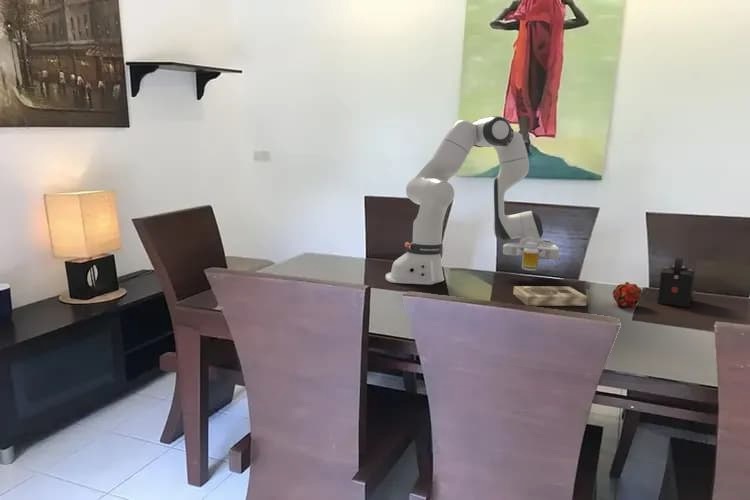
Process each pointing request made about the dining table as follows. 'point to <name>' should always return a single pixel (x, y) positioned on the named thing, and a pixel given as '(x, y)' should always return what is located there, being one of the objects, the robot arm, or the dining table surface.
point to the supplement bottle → (530, 257)
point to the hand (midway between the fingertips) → (530, 254)
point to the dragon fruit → (627, 295)
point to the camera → (676, 285)
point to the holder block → (550, 295)
